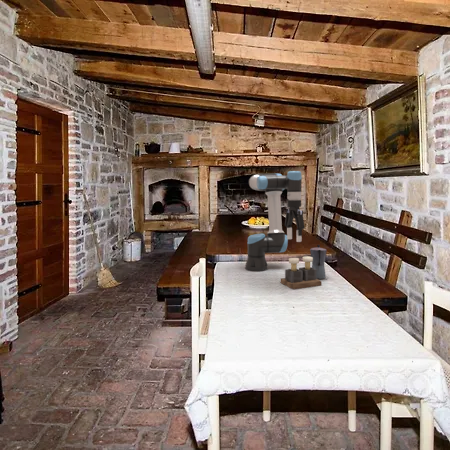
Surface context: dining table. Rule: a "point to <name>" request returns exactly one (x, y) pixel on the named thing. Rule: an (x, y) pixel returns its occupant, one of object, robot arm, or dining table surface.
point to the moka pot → (318, 261)
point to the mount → (300, 278)
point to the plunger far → (307, 262)
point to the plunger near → (293, 263)
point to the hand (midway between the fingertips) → (294, 240)
